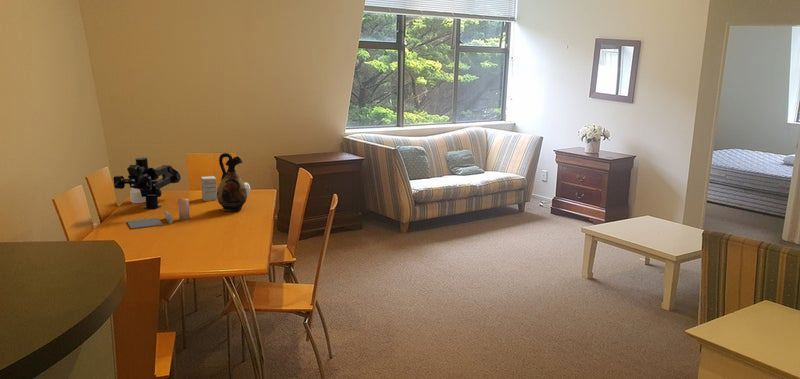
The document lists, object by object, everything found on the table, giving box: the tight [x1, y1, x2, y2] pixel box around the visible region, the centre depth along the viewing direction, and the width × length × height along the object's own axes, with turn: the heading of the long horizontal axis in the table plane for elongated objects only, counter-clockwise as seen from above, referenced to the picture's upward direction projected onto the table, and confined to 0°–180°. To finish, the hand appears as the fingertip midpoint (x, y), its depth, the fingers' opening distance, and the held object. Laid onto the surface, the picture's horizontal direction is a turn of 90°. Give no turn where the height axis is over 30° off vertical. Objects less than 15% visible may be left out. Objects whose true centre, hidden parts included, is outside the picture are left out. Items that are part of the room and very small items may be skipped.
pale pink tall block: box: [177, 197, 191, 221], centre depth 292 cm, size 5×5×10 cm
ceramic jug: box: [216, 152, 248, 213], centre depth 310 cm, size 17×15×30 cm
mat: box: [126, 217, 164, 230], centre depth 284 cm, size 14×14×1 cm
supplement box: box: [200, 175, 218, 202], centre depth 335 cm, size 7×7×13 cm
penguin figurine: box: [243, 182, 251, 198], centre depth 340 cm, size 6×8×12 cm
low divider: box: [164, 210, 173, 225], centre depth 289 cm, size 12×1×4 cm, turn 32°
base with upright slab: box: [129, 188, 146, 204], centre depth 327 cm, size 9×9×12 cm
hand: (123, 186), depth 287 cm, fingers open, 9 cm apart
